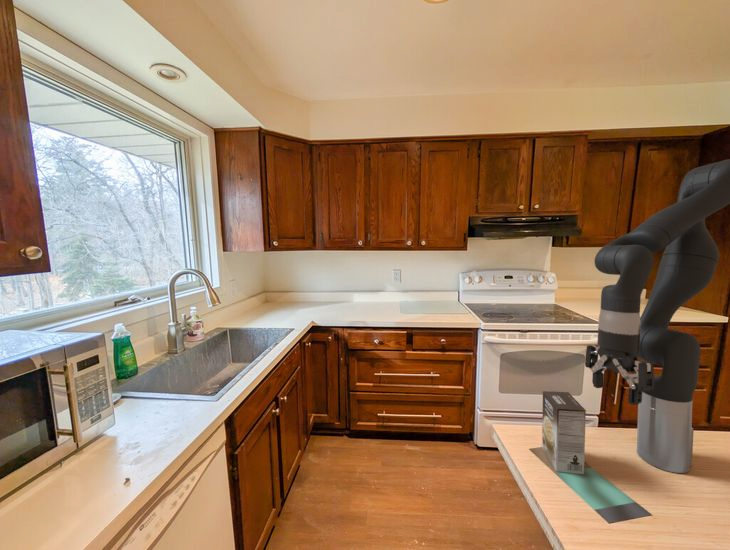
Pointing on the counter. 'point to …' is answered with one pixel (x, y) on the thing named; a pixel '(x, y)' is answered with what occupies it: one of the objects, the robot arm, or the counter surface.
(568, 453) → the coffee box
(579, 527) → the counter surface
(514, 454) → the counter surface
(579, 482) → the mat
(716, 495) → the counter surface
